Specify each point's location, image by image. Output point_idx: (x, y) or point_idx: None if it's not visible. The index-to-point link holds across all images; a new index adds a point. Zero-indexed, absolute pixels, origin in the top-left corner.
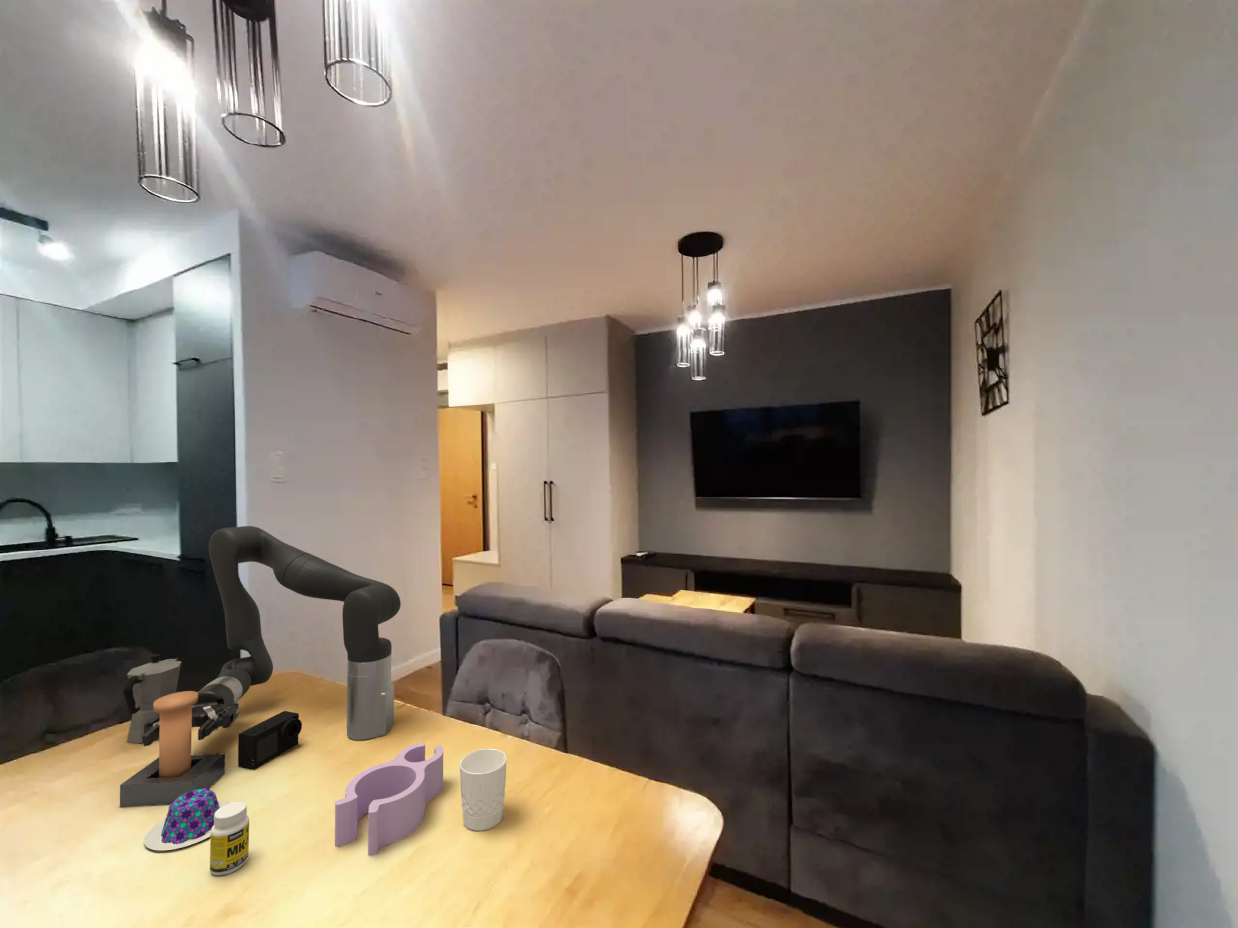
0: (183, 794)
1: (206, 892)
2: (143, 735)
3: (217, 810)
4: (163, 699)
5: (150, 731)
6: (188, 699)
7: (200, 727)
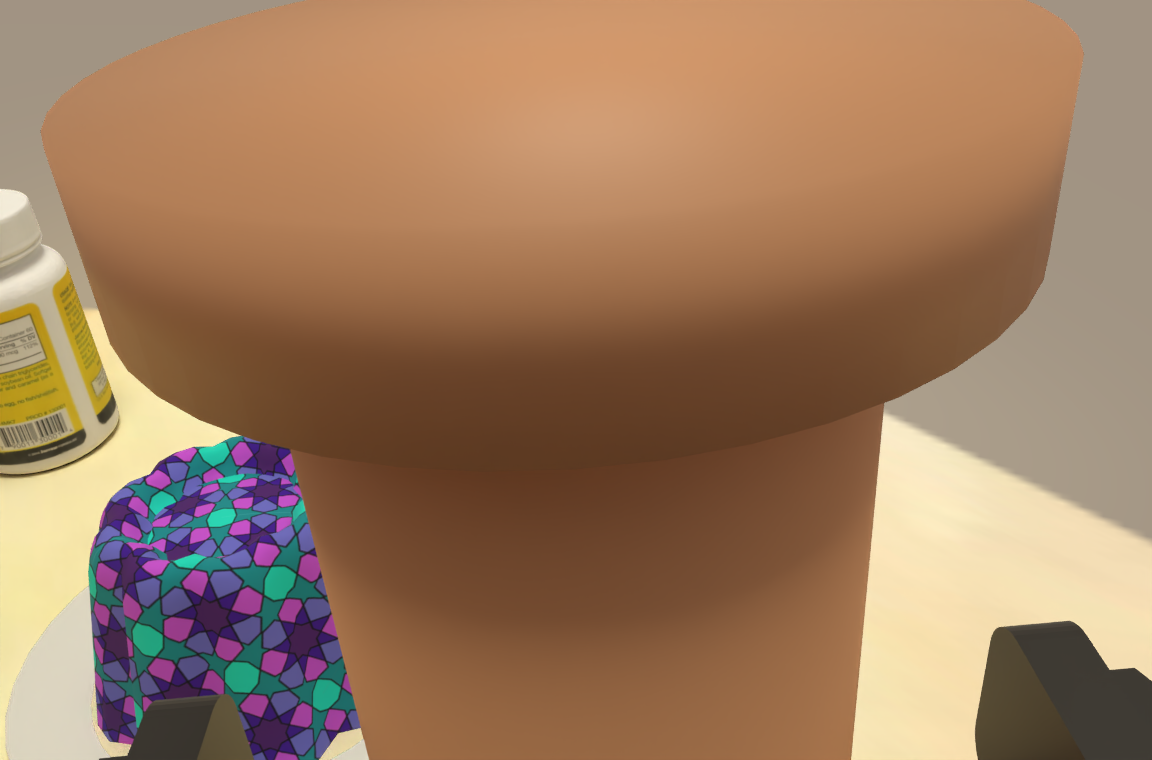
0: (292, 528)
1: (121, 363)
2: (1149, 694)
3: (15, 211)
4: (864, 27)
5: (1095, 713)
6: (226, 38)
7: (199, 738)
